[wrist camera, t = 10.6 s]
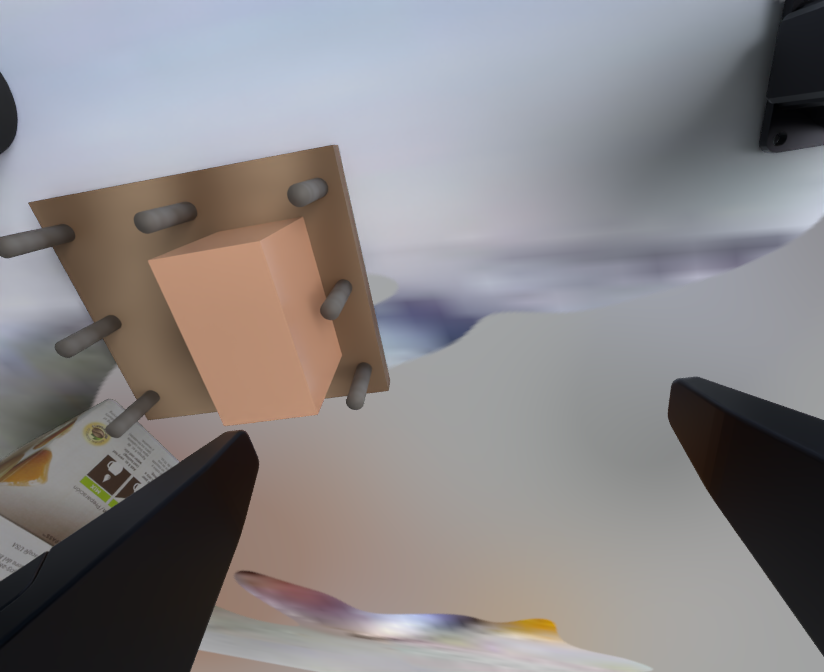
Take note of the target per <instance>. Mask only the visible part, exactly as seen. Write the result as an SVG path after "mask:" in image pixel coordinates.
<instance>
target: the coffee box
mask: <svg viewBox="0 0 824 672" xmlns="http://www.w3.org/2000/svg"><path fill="white" fill-rule="evenodd" d="M124 411H125V409H124V408H123V407H122V406H121V405H120V404H119V403H118V402H116V401H115V400H113V399H107V400H105V401H103V402H101V403H99V404H97V405H96V406H94V407H92V408H90V409H88V410H87V411H85V412H83V413H81V414H79V415H78V416H76V417H74V418H72V419H71V420H69V421H67V422H65V423H63V424H62V425H60V426H58V427H56V428H54V429H52V430H51V431H49V432H47V433H45V434H43V435H41V436H40V437H38V438H36V439H34V440H32V441H31V442H29V443H27V444H25V445H23V446H22V447H20V448H18V449H16V450H15V451H13V452H12V453H11V454H9V455H8V456H6V457H5V458H4V459H2V460H1V461H0V581H1V580H3V579H4V578H6V577H7V576H9V575H10V574H12V573H14V572H15V571H17V570H18V569H20V568H21V567H23V566H24V565H26V564H27V563H29V562H30V561H32V560H33V559H35V558H36V557H38V556H39V555H41V554H42V553H44V552H46V551H49V550H50V549H51V548H52V547H53V546H55V545H56V544H58V543H59V542H61V541H62V540H64V539H65V538H67V537H68V536H70V535H71V534H73V533H74V532H76V531H77V530H79V529H80V528H82V527H83V526H85V525H86V524H88V523H89V522H91V521H92V520H94V519H95V518H97V517H98V516H100V515H101V514H103V513H104V512H106V511H107V510H109V509H110V508H112V507H113V506H115V505H116V504H118V503H119V502H121V501H122V500H124V499H125V498H127V497H128V496H130V495H131V494H133V493H134V492H136V491H137V490H139V489H140V488H142V487H143V486H145V485H146V484H148V483H149V482H151V481H152V480H154V479H155V478H157V477H158V476H160V475H161V474H163V473H164V472H166V471H167V470H169V469H170V468H172V467H173V466H175V465H176V464H178V463H179V461H178V460H177V459H176V458H175V457H174V456H173V455H172V454H171V453H170V452H169V451H168V450H167V449H166V448H165V447H163V446H162V445H161V444H160V443H159V442H158V441H157V440H156V439H155V438H154V437H153V436H152V435H151V434H150V433H149V432H148V431H147V430H146V429H145V428H144V427H143V426H142V425H140V424H139V423H138V422H136V423H135V424H134V425H133V426H132V427H131V428H130V429H129V430H128V431H126V432H125V433H124V434H123V435H122V436H121V437H120V438H113V437H111V436H109V435H108V434H107V433H106V430H105V428H106V426H107V425H109V424H110V423H111V422H112V421H113V420H114V419H115V418H117V417H118V416H119V415H120V414H121V413H122V412H124Z"/></svg>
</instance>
